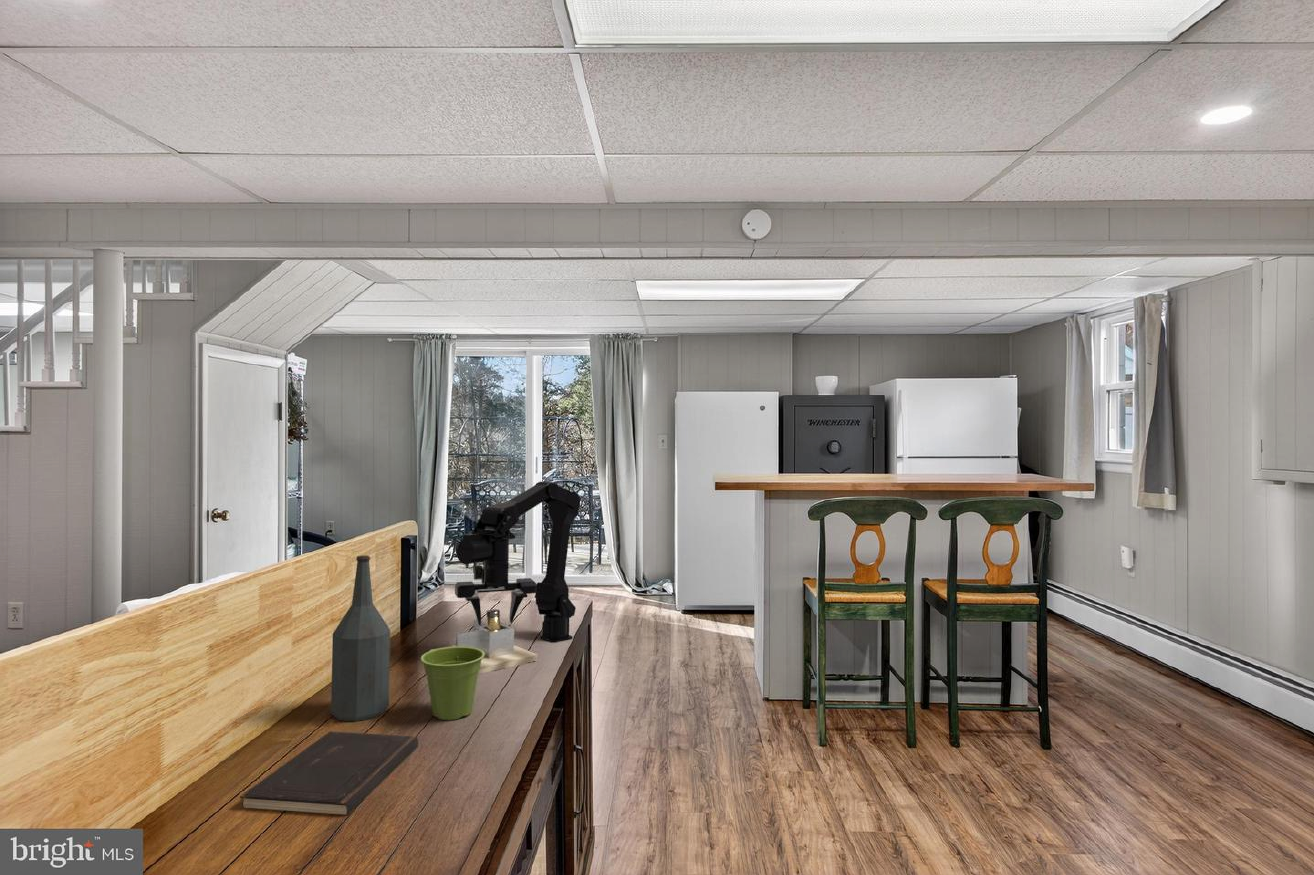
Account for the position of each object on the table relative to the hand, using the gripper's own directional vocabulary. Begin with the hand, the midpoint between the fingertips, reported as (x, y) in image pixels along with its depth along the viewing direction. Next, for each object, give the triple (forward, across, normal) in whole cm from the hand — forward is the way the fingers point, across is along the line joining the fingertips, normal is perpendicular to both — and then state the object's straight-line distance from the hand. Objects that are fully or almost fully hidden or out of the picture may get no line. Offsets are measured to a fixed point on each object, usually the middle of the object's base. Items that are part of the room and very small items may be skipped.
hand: (495, 623), depth 173 cm
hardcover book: (+9, +33, +52) cm, 63 cm away
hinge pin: (+7, 0, 0) cm, 7 cm away
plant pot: (+9, +14, +33) cm, 37 cm away
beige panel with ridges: (+8, +3, -1) cm, 9 cm away
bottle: (+9, +30, +26) cm, 41 cm away
